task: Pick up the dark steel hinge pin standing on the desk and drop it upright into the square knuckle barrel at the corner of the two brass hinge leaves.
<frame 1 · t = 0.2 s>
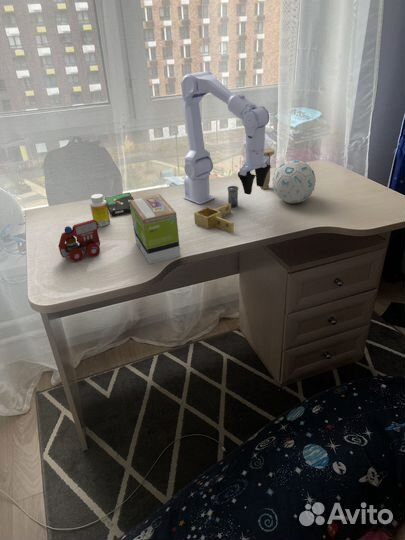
hand: (253, 189, 136), 10 cm above the table, tool pointing down, fingers open, 7 cm apart
pin: (233, 206, 150), on the table
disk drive: (121, 208, 154), on the table
handle: (264, 188, 163), on the table
toy fire truck: (82, 255, 124), on the table
tea box: (157, 250, 125), on the table
supplement bottle: (102, 224, 142), on the table
hinge leaves: (208, 223, 138), on the table
puzzle ball: (292, 201, 151), on the table
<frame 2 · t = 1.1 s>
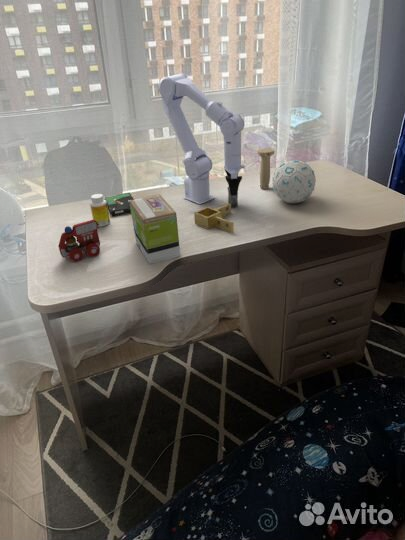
hand: (233, 191, 146), 6 cm above the table, tool pointing down, fingers open, 7 cm apart
nothing on the table moved.
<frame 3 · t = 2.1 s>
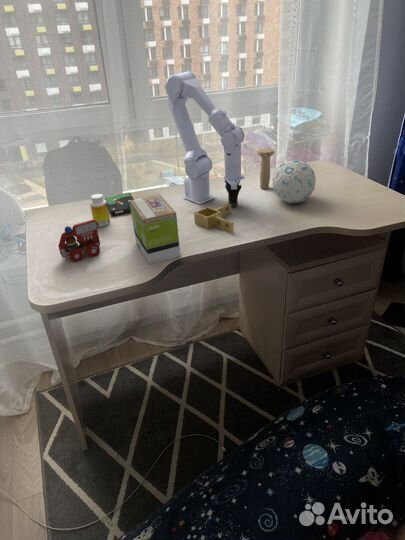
hand: (233, 201, 149), 2 cm above the table, tool pointing down, fingers closed on pin, 4 cm apart
pin: (233, 206, 150), on the table, touching gripper
everything else where it was.
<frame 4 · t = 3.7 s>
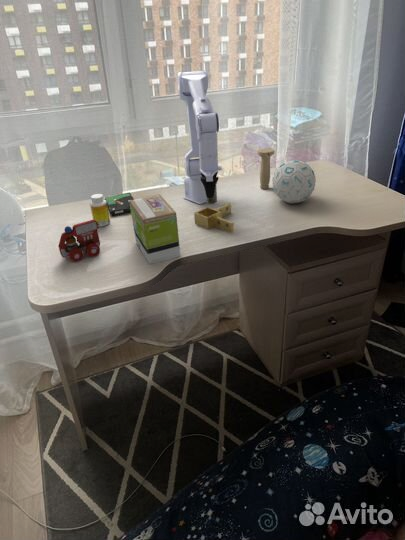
hand: (210, 195, 134), 9 cm above the table, tool pointing down, fingers closed on pin, 4 cm apart
pin: (211, 201, 136), point 7 cm above the table, touching gripper
everything else where it was.
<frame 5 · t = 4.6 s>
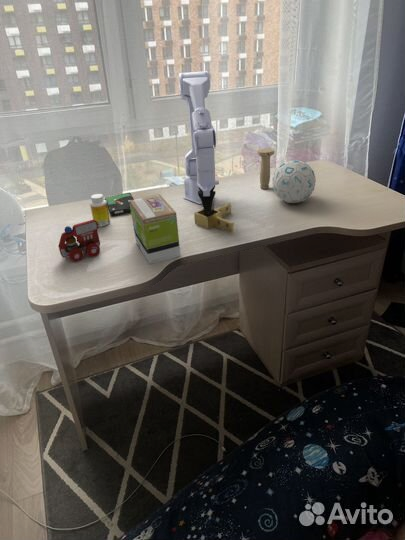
hand: (207, 208, 136), 5 cm above the table, tool pointing down, fingers closed on pin, 4 cm apart
pin: (209, 214, 137), point 3 cm above the table, touching gripper
everything else where it was.
when the fingers open (5 cm above the table, at t = 5.1 s): pin drops 2 cm, resting in hinge leaves.
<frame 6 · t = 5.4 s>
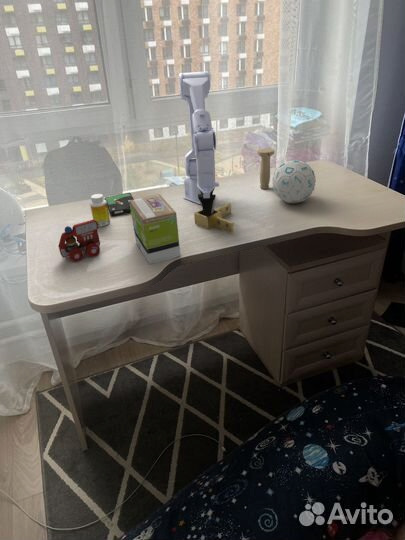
hand: (207, 210, 136), 5 cm above the table, tool pointing down, fingers open, 6 cm apart
pin: (209, 222, 139), resting in hinge leaves
everything else where it was.
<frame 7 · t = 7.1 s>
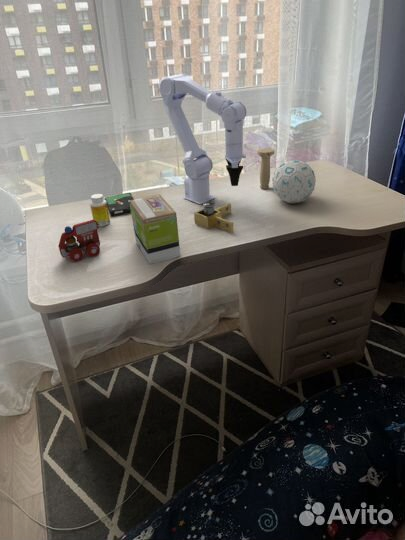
hand: (234, 181, 143), 10 cm above the table, tool pointing down, fingers open, 7 cm apart
nothing on the table moved.
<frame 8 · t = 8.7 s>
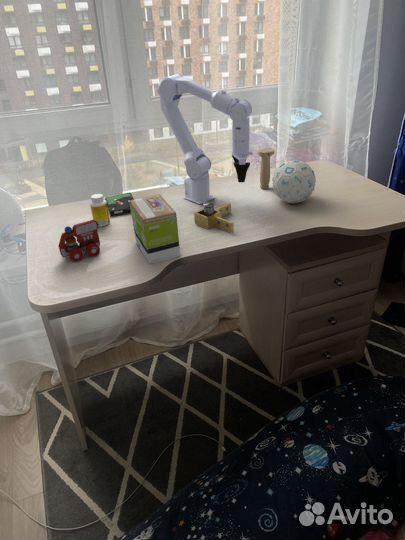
hand: (240, 178, 145), 10 cm above the table, tool pointing down, fingers open, 7 cm apart
nothing on the table moved.
at the end: pin 0.6 cm from the hinge leaves (horizontally); pin resting in hinge leaves; pin tilted 0° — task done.
